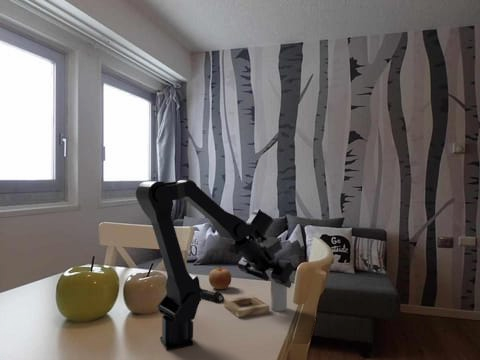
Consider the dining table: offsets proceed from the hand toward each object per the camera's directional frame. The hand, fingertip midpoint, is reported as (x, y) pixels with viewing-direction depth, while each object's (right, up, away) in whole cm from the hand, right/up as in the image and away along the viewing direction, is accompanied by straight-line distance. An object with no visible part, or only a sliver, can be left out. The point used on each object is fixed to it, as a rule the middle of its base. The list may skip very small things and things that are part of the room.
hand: (278, 282), depth 108 cm
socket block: (-10, -8, 0) cm, 13 cm away
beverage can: (0, -8, 0) cm, 8 cm away
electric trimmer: (-24, -8, +10) cm, 27 cm away
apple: (-19, -8, +20) cm, 28 cm away
